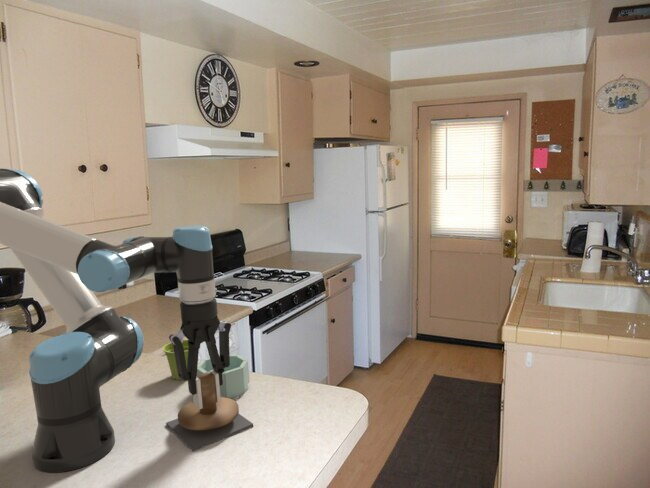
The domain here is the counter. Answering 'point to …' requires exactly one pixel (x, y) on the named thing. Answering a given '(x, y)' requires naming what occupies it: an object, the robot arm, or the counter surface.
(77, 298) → the robot arm
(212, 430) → the mat
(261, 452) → the counter surface
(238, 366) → the bowl
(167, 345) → the plant pot
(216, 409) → the lid
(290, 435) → the counter surface
